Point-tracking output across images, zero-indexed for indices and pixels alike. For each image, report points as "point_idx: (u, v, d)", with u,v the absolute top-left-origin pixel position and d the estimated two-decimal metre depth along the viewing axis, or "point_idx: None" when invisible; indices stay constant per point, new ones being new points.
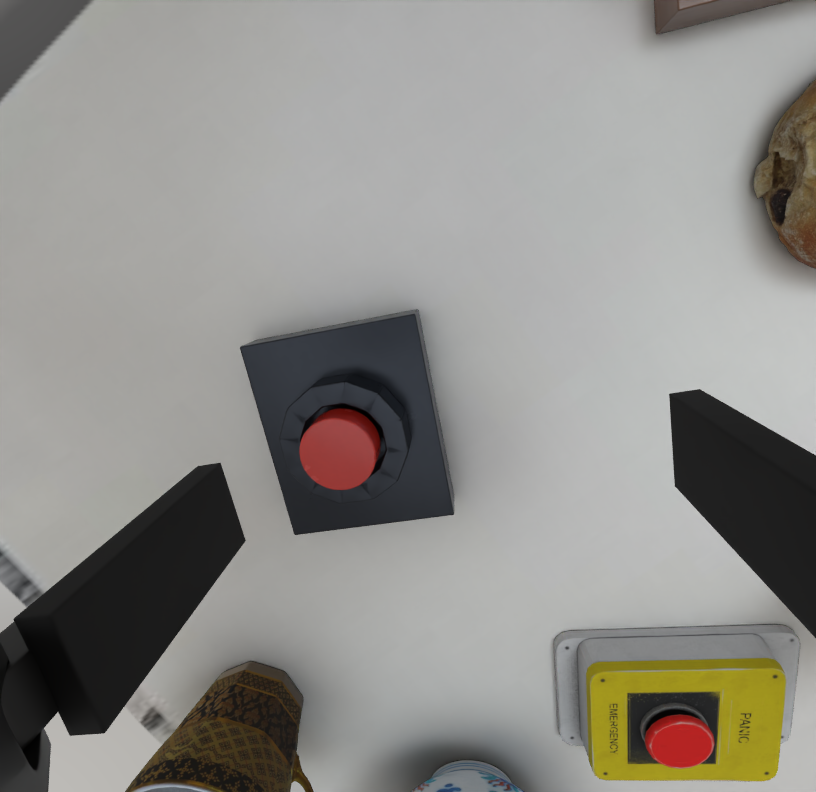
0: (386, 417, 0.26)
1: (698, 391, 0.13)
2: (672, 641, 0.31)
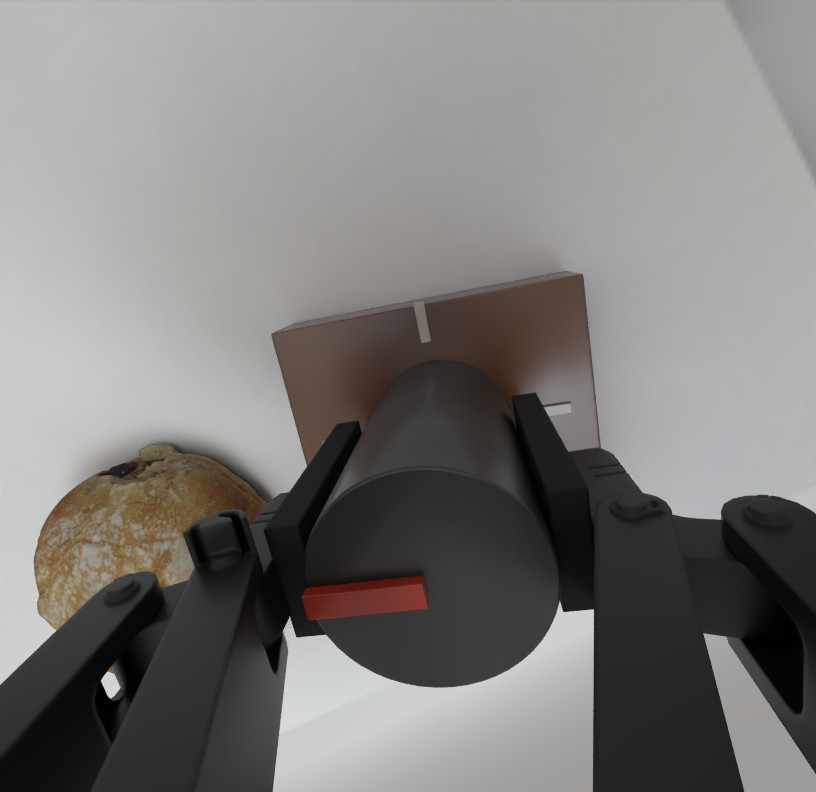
0: None
1: (533, 393, 0.15)
2: None
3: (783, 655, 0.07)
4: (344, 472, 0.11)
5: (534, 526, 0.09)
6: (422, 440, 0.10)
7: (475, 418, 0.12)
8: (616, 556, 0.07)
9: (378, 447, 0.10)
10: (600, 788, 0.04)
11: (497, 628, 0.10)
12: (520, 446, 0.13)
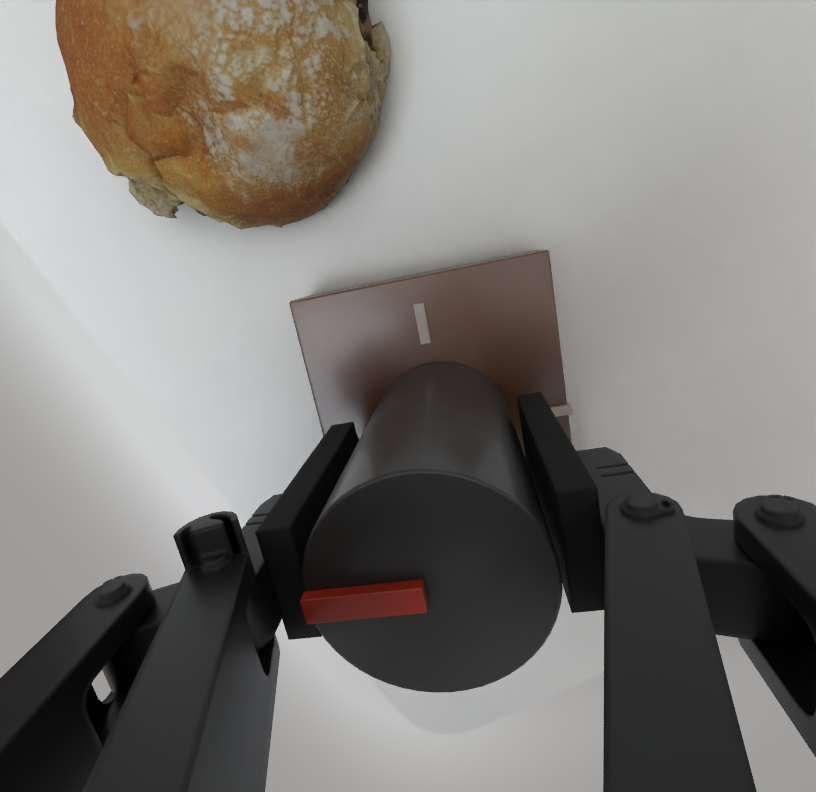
0: None
1: (538, 393, 0.15)
2: None
3: (795, 656, 0.07)
4: (343, 474, 0.11)
5: (535, 531, 0.09)
6: (422, 442, 0.10)
7: (475, 420, 0.12)
8: (626, 556, 0.07)
9: (378, 448, 0.10)
10: (610, 789, 0.04)
11: (496, 632, 0.10)
12: (521, 449, 0.13)
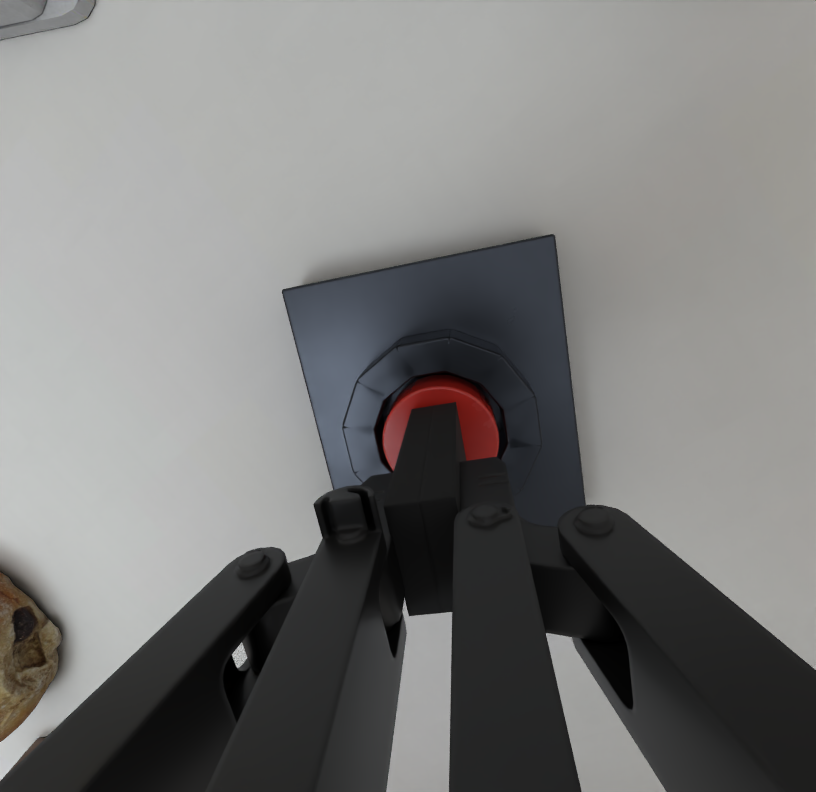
0: None
1: (452, 403, 0.16)
2: None
3: (617, 652, 0.08)
4: None
5: None
6: None
7: None
8: (472, 563, 0.08)
9: None
10: (455, 790, 0.05)
11: None
12: None
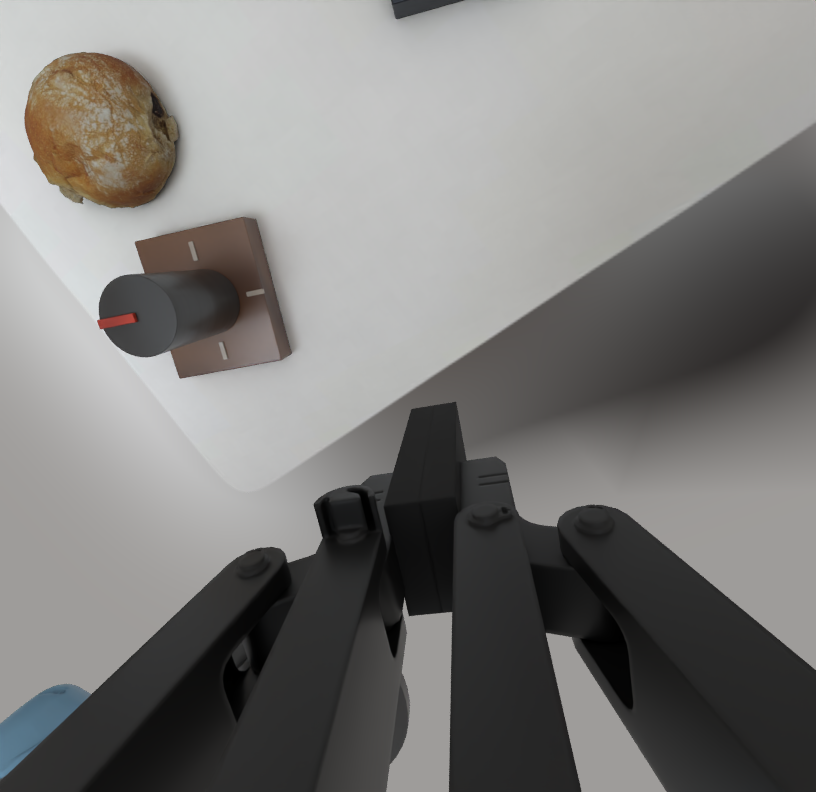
0: None
1: (452, 403, 0.16)
2: None
3: (617, 653, 0.08)
4: None
5: (164, 293, 0.29)
6: None
7: (176, 275, 0.32)
8: (472, 564, 0.08)
9: None
10: (455, 790, 0.05)
11: (160, 331, 0.30)
12: (205, 291, 0.33)
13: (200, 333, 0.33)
